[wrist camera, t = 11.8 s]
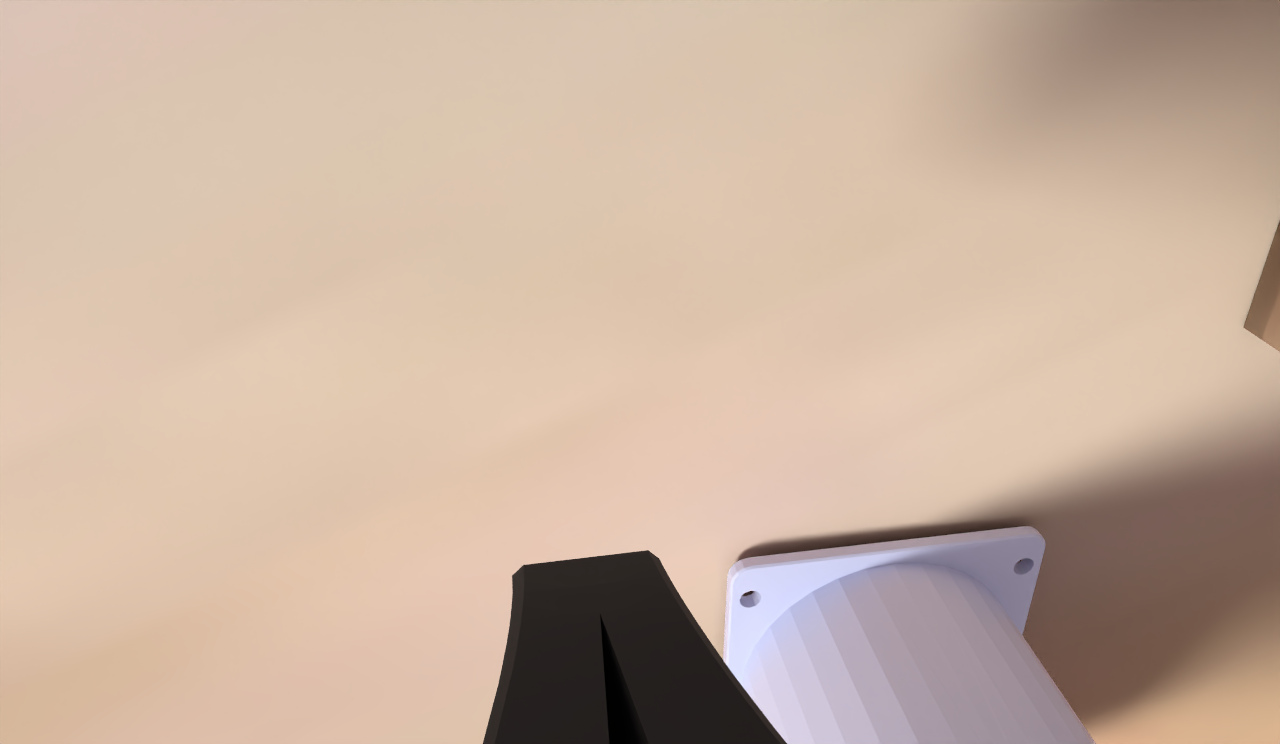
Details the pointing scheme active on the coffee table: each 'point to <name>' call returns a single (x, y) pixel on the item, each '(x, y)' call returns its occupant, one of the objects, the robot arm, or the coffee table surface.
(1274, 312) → the keepsake box
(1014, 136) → the coffee table surface
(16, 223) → the coffee table surface
